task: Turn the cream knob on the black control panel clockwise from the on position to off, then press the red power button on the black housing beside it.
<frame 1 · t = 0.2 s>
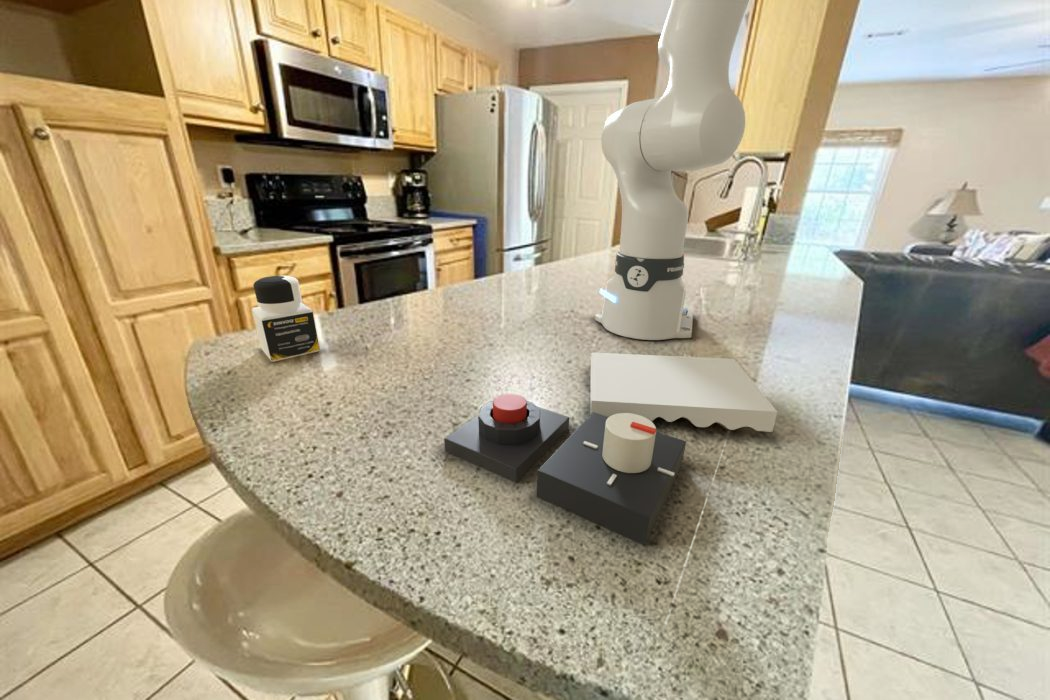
control panel: (613, 480, 40), on the worktop
dial: (628, 440, 38), point 5 cm above the worktop, hinge at 90.0°
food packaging: (666, 401, 55), on the worktop
power button: (509, 408, 45), point 4 cm above the worktop, slide at 0.1 cm
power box: (509, 440, 46), on the worktop
medicine bottle: (291, 351, 69), on the worktop
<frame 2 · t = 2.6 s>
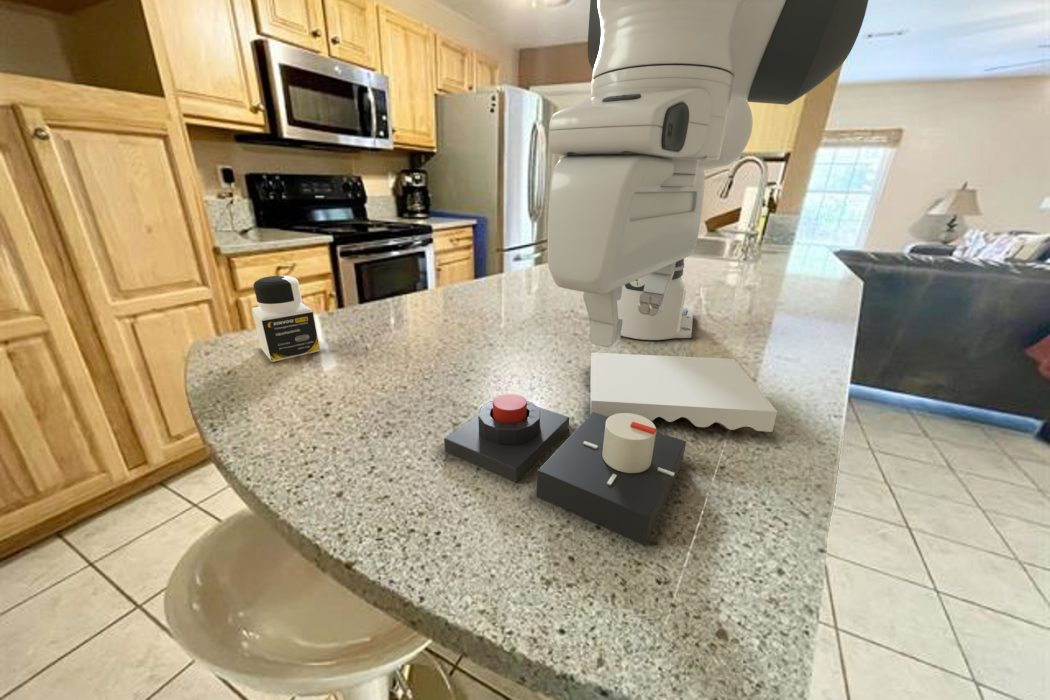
hand: (629, 326, 33), 16 cm above the worktop, tool pointing down, fingers open, 8 cm apart
nothing on the worktop moved.
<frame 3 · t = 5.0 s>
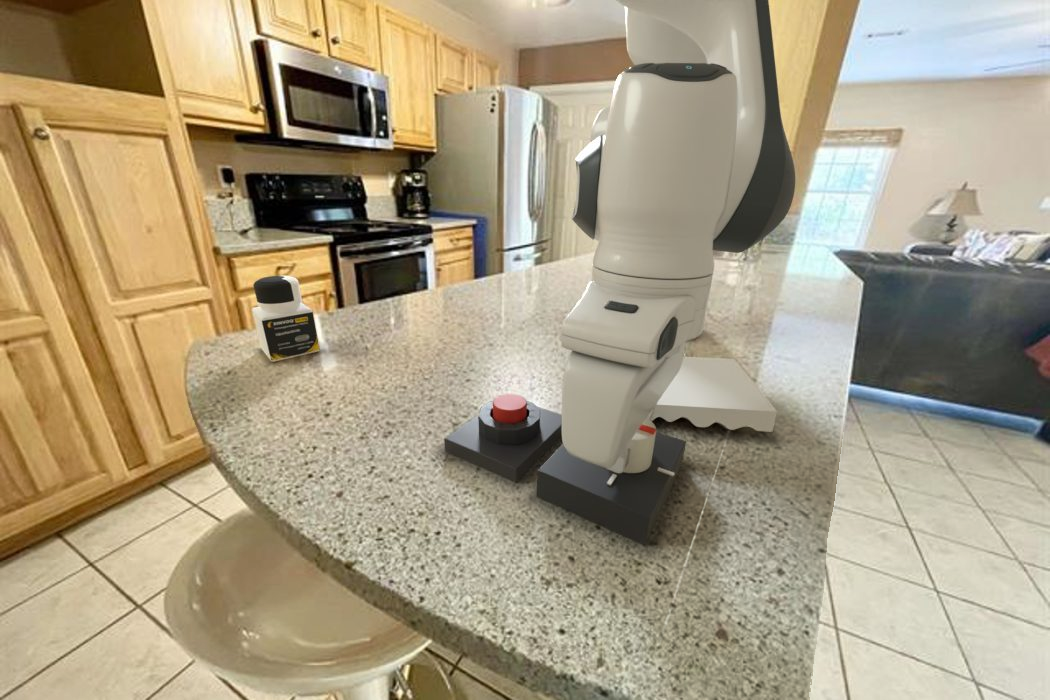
hand: (627, 450, 38), 4 cm above the worktop, tool pointing down, fingers closed on dial, 4 cm apart
dial: (628, 440, 38), point 5 cm above the worktop, hinge at 90.1°, touching gripper
everything else where it was.
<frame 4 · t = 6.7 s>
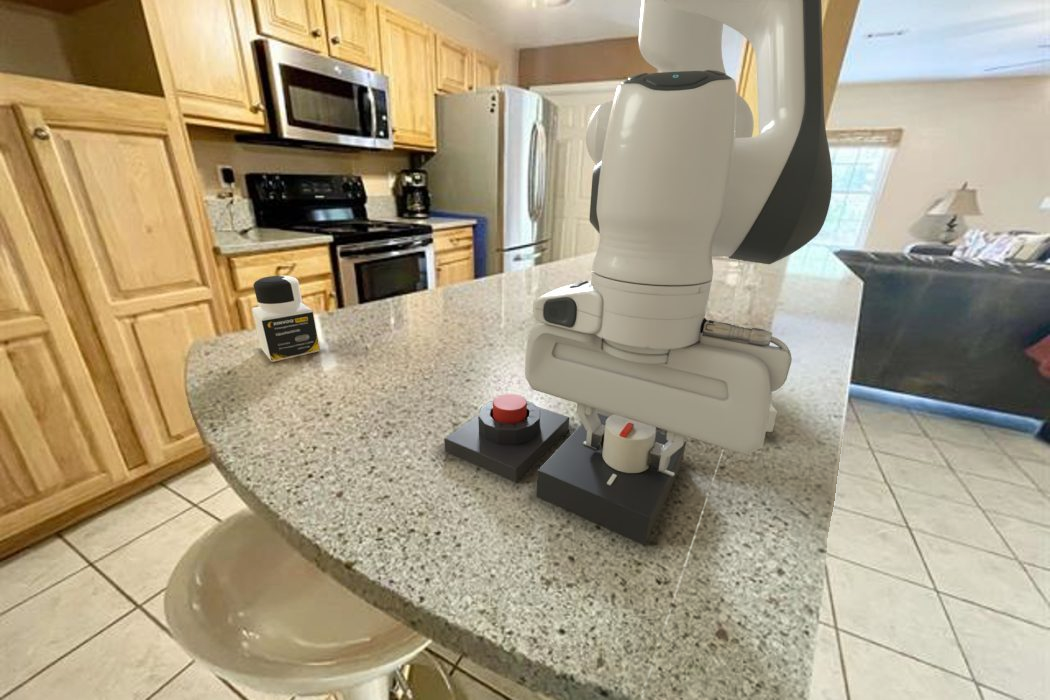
hand: (626, 455, 38), 3 cm above the worktop, tool pointing down, fingers closed on dial, 4 cm apart
dial: (628, 440, 38), point 5 cm above the worktop, hinge at 1.0°, touching gripper
everything else where it was.
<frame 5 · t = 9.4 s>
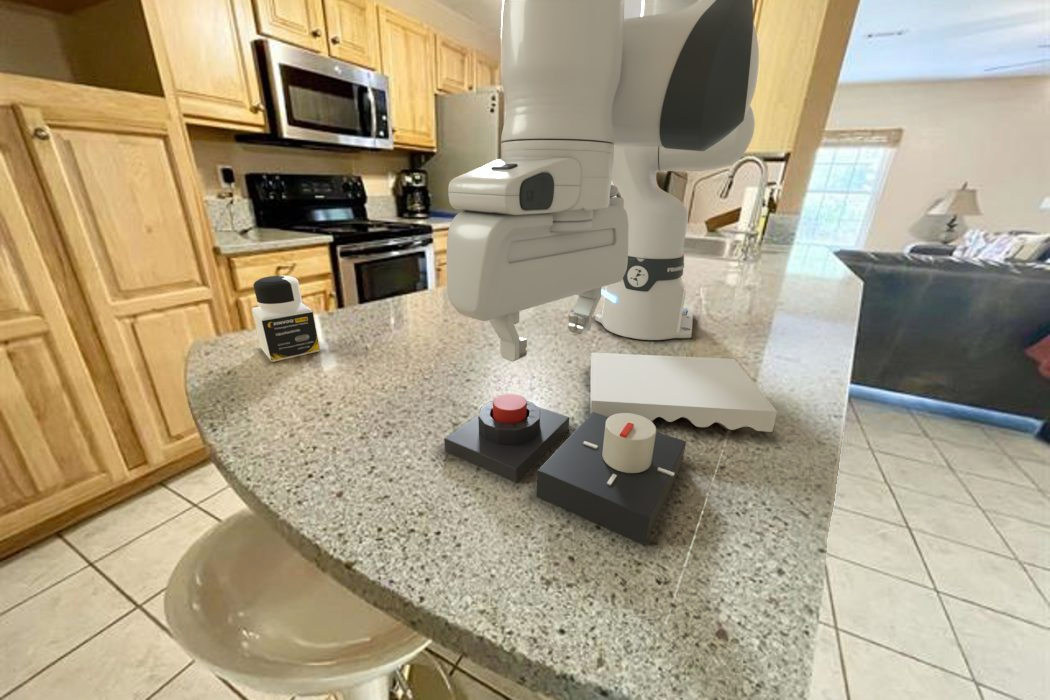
hand: (549, 343, 39), 12 cm above the worktop, tool pointing down, fingers open, 8 cm apart
dial: (628, 440, 38), point 5 cm above the worktop, hinge at 1.1°
everything else where it was.
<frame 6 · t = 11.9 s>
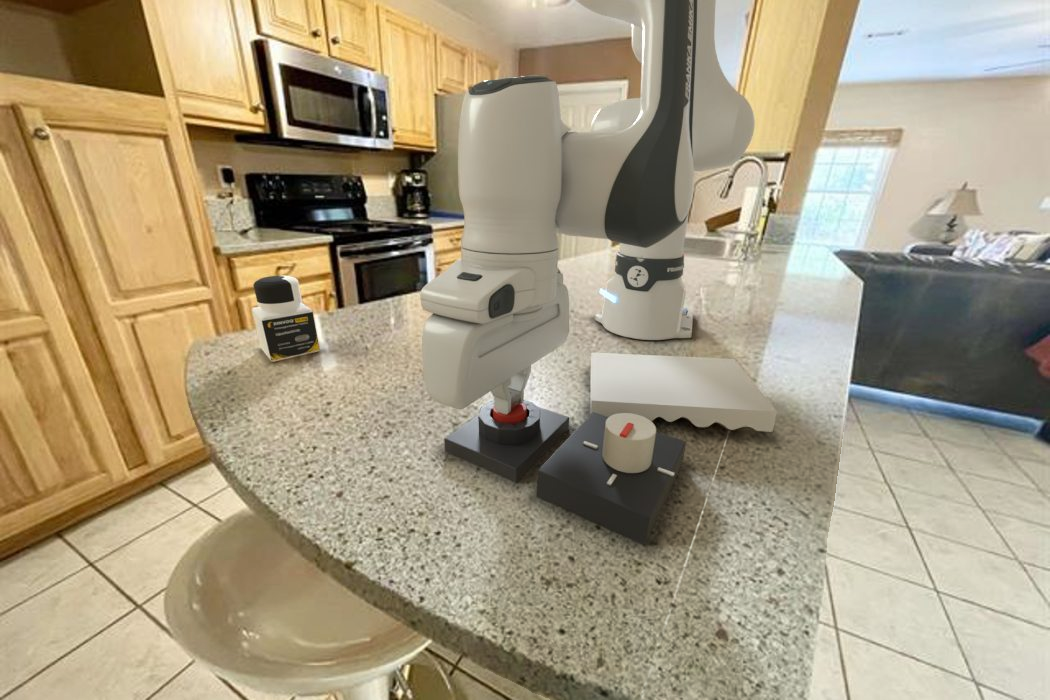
hand: (509, 407, 44), 4 cm above the worktop, tool pointing down, fingers closed, pressing on power button
power button: (509, 414, 45), point 3 cm above the worktop, slide at -0.6 cm, touching gripper
everything else where it was.
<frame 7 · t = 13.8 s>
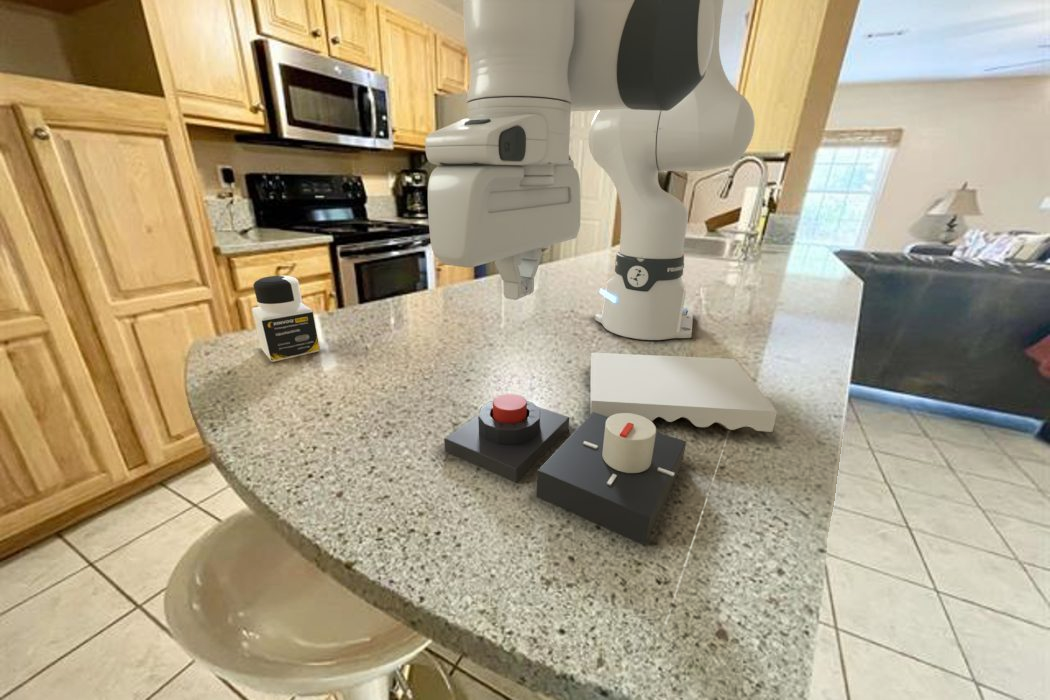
hand: (519, 295, 42), 16 cm above the worktop, tool pointing down, fingers closed
power button: (509, 408, 45), point 4 cm above the worktop, slide at 0.1 cm
everything else where it was.
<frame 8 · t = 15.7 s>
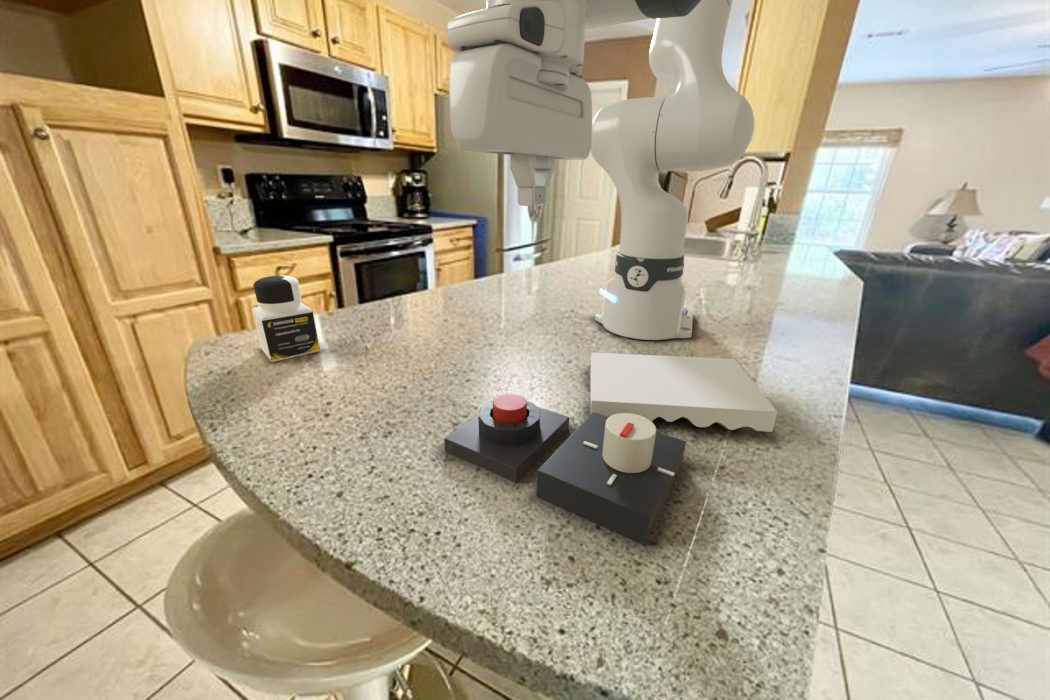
hand: (532, 205, 43), 24 cm above the worktop, tool pointing down, fingers closed
nothing on the worktop moved.
at the end: dial at +1° (first picture: +90°); power button pushed in 1.0 cm at the most during the clip, back to where it started at the end; power button slide at 0.1 cm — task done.
